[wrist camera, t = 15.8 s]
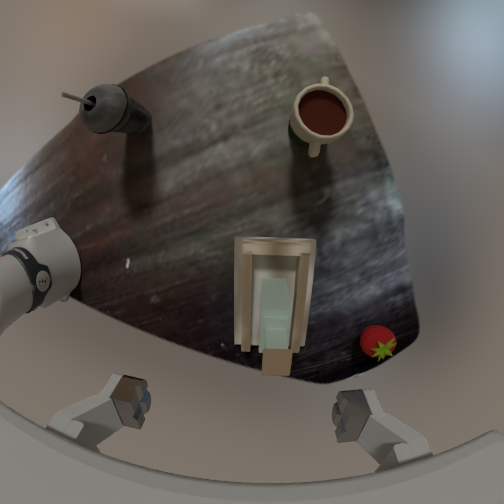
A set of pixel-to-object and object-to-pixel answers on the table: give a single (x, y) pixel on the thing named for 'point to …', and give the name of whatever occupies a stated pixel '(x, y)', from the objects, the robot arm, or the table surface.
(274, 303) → the pale green flat bottle
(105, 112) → the beverage cup
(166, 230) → the table surface
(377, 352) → the strawberry
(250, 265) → the u rest
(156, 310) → the table surface
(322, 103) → the character mug
